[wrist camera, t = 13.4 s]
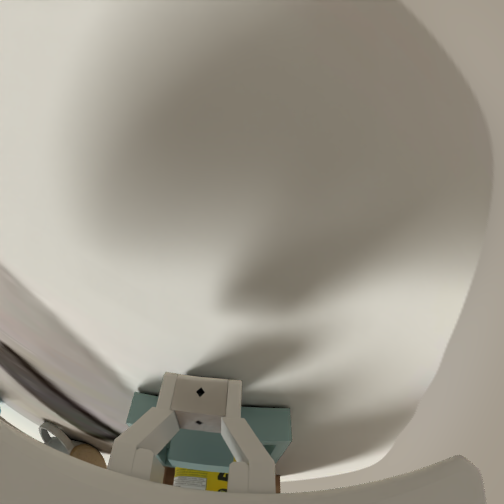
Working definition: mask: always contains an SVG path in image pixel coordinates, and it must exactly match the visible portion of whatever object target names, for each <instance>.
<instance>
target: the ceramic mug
mask: <svg viewBox="0 0 504 504" xmlns="http://www.w3.org/2000/svg"><path fill="white" fill-rule="evenodd" d="M47 430H48V431H49V432H51V433H52V434H53V435H55V436H56V437H52V438H51V437H50V435H49V434H48V432H47ZM39 432H40V435H41V437H42V439H43V441H44V442H45V443H44V444H45V445H48V446H50V447H52V448H54V449H56V450H58V451H61V452H63V453H65V454H67V455H70V456H72V457H75V458H77V459H80V460H82V461H85V462H88V463H90V464H93V465H96V466H99V467H102V468H105V469H106V463H105V460H104V458H103V456H102V455H101V453H100V452H99V451H98V450H97V449H96V448H94V447H92V446H91V445H88V444H86V443H83V442H79V441H73V440H70V439H69V438H68V437H67V435H66V434H65V433H64V432H63V431H62V430H61V429H59V428H58V427H57V426H55V425H54V424H52V423H50V422H44V423H43V424H42V425H41V426H40V427H39Z"/></svg>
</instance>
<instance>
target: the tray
mask: <svg viewBox="0 0 504 504" xmlns="http://www.w3.org/2000/svg"><path fill="white" fill-rule="evenodd" d="M157 401H158V396H153V395H148V394H143V393H138V392H135V393H134V397H133V400H132V404H131V407H130V411H129V414H128V418H127V422H126V423H127V425H128V426H129V427H130V426H131V425H133V424H134V423H135V422H136V421H137V420H138V419H139V418H141V417H142V416H143V415H144V414H145V413H146V412H147V411H148V410H150V409H151V408H152V407H156V406H157ZM241 418H245V420H246V421H247V423H248V424H249V426H250V427H251V429H252V430H253V432H254V433H255V435H256V436H257V438H258V439H259V441H260V442H261V443H262V445H263V446H264V448H265V449H266V451H267V452H268V453H269V455H270V456H271V458H272V459H273V460H274V462H275V464H276V462H277V461H278V460H279V458H280V457H281V456H282V454H283V453H284V451H285V450H286V449H287V447H288V446H289V444H290V443H291V442H292V433H291V419H290V408H257V407H241ZM179 429H180V430H179V431H178V432H177V433H176V434H175V435H174V437H173V438H172V439H171V440H170V441H169V442H168V443H167V444H166V445H165V446H164V448H163V449H162V450H161V451H160V452H159V453H158V454H157V455H156V457H157V459H158V460H159V461H160V463H161V464H162V465H163V466H166V467H171V468H176V467H180V468H187V469H194V470H202V471H210V472H221V473H229V465H230V464H231V463H232V462H233V461H234V456H233V454H232V453H231V451H230V449H229V447H228V446H227V444H226V442H225V440H224V439H223V437H222V435H221V433H213V432H206V431H198V430H189V429H181V428H179Z"/></svg>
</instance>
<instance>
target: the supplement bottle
mask: <svg viewBox="0 0 504 504" xmlns="http://www.w3.org/2000/svg"><path fill="white" fill-rule="evenodd" d="M233 462H237V461H236V460H235V458H234V461H233ZM227 483H228V473H221V472H210V471H202V470H194V469H187V468H180V467H176V468H175V476H174V483H173V486H178V487H184V488H191V489H198V490H207V491H217V492H227Z"/></svg>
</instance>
